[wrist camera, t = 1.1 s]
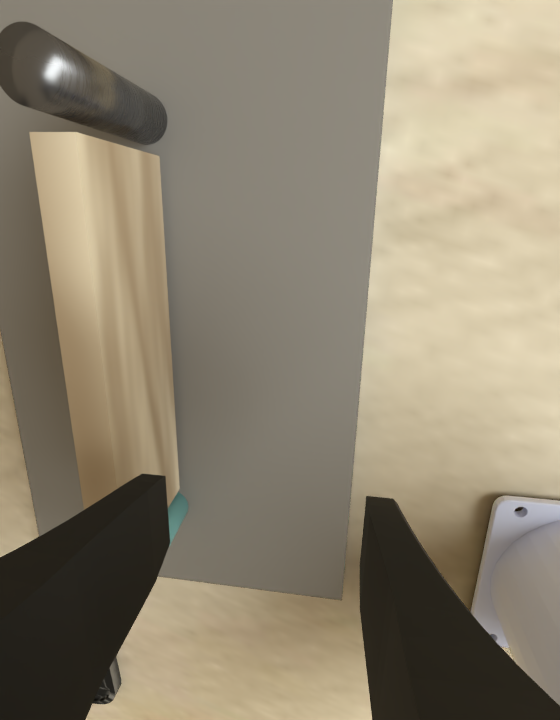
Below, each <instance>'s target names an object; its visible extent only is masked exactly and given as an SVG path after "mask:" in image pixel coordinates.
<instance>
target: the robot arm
mask: <svg viewBox="0 0 560 720" xmlns="http://www.w3.org/2000/svg"><path fill="white" fill-rule="evenodd" d="M518 507H524V508H523V509H522V510H521V511H515V509H516V508H518ZM169 545H170V532H169V518H168V504H167V490H166V476H162V475H152V474H141V475H139V476H137V477H135V478H134V479H132V480H130V481H129V482H127V483H125V484H124V485H122V486H121V487H119V488H118V489H116V490H115V491H113V492H111V493H110V494H108V495H107V496H105V497H104V498H102V499H101V500H99V501H97V502H96V503H94V504H93V505H91V506H89V507H88V508H86V509H85V510H83V511H82V512H80V513H78V514H77V515H75V516H74V517H72V518H70V519H69V520H67V521H65V522H64V523H62V524H60V525H58V526H57V527H55V528H53V529H51V530H50V531H48V532H46V533H45V534H43V535H41V536H39V537H38V538H36V539H34V540H32V541H31V542H29V543H27V544H25V545H23V546H22V547H20V548H18V549H16V550H14V551H12V552H10V553H8V554H6V555H4V556H2V557H0V720H85V719H86V717H87V715H88V712H89V710H90V708H91V705H92V703H93V701H94V698H95V696H96V694H97V692H98V690H99V688H100V686H101V684H102V682H103V680H104V678H105V676H106V674H107V672H108V670H109V668H110V666H111V664H112V663H113V661H114V659H115V657H116V655H117V653H118V651H119V649H120V648H121V646H122V644H123V642H124V640H125V638H126V636H127V635H128V633H129V631H130V629H131V627H132V625H133V623H134V622H135V620H136V618H137V616H138V614H139V612H140V610H141V608H142V607H143V605H144V603H145V601H146V599H147V597H148V595H149V593H150V591H151V589H152V587H153V586H154V584H155V582H156V579H157V577H158V574H159V572H160V569H161V567H162V564H163V561H164V559H165V556H166V553H167V551H168V548H169ZM360 613H361V622H362V631H363V640H364V649H365V658H366V667H367V676H368V684H369V693H370V702H371V711H372V720H560V501H559V500H548V499H538V498H528V497H517V496H501V497H498V498H497V499H496V500H495V501H494V503H493V507H492V511H491V516H490V521H489V526H488V531H487V535H486V540H485V545H484V550H483V555H482V559H481V564H480V569H479V574H478V579H477V583H476V588H475V593H474V598H473V603H472V607H471V612H470V611H469V610H468V609H467V608H466V606H465V605H464V604H463V603H462V601H461V600H460V599H459V597H458V596H457V595H456V593H455V592H454V591H453V590H452V588H451V587H450V586H449V584H448V583H447V582H446V580H445V579H444V577H443V576H442V575H441V573H440V572H439V571H438V569H437V568H436V566H435V565H434V563H433V562H432V560H431V559H430V557H429V556H428V554H427V553H426V551H425V550H424V548H423V547H422V545H421V544H420V542H419V541H418V539H417V537H416V536H415V534H414V532H413V531H412V529H411V528H410V526H409V524H408V522H407V521H406V519H405V517H404V515H403V514H402V512H401V510H400V508H399V506H398V504H397V503H396V502H395V500H394V499H390V498H380V497H370V496H367V497H366V507H365V517H364V527H363V537H362V548H361V558H360ZM489 634H490V635H489ZM501 647H507V648H510V651H511V654H512V656H513V659H514V661H513V660H512V659H511V658H510V656H509V655H508V654H507V653H506V652H505V651H504V650H503V649H502V648H501Z"/></svg>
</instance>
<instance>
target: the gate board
mask: <svg viewBox="0 0 560 720" xmlns="http://www.w3.org/2000/svg"><path fill="white" fill-rule="evenodd" d="M392 4H393V0H0V33H1V31H2V30H3V29H4V28H5V27H7V26H8V25H10V24H12V23H15V22H21V21H22V22H29V23H32V24H35V25H37V26H39V27H40V28H42V29H44V30H45V31H47V32H49V33H50V34H52V35H54V36H55V37H57V38H59V39H60V40H62V41H64V42H65V43H67V44H69V45H70V46H72V47H74V48H75V49H77V50H79V51H80V52H82V53H84V54H85V55H87V56H89V57H90V58H92V59H94V60H95V61H97V62H99V63H100V64H102V65H104V66H105V67H107V68H109V69H110V70H112V71H114V72H115V73H117V74H119V75H120V76H122V77H124V78H126V79H127V80H129V81H131V82H132V83H134V84H136V85H137V86H139V87H141V88H142V89H144V90H146V91H147V92H149V93H151V94H152V95H154V96H155V97H157V98H158V99H159V100H160V101H161V103H162V104H163V106H164V108H165V110H166V114H167V128H166V131H165V133H164V135H163V136H162V138H161V139H160V140H159V141H157V142H156V143H154V144H150V145H143V144H140V143H137V142H133V141H130V140H127V139H124V138H121V137H118V136H115V135H112V134H109V133H106V132H103V131H100V130H96V129H93V128H90V127H87V126H84V125H81V124H78V123H75V122H72V121H69V120H66V119H62V118H59V117H56V116H53V115H50V114H47V113H44V112H41V111H38V110H35V109H32V108H28V107H25V106H23V105H20V104H18V103H16V102H15V101H13V100H12V99H11V98H10V97H9V96H8V95H7V94H6V93H5V92H4V90H3V89H2V87H1V86H0V330H1V335H2V341H3V346H4V351H5V357H6V362H7V367H8V372H9V378H10V383H11V388H12V394H13V399H14V404H15V410H16V415H17V420H18V426H19V431H20V436H21V442H22V447H23V452H24V458H25V463H26V468H27V474H28V479H29V484H30V489H31V495H32V500H33V505H34V511H35V516H36V521H37V527H38V532H39V536H41V535H43V534H45V533H46V532H48V531H50V530H51V529H53V528H55V527H57V526H58V525H60V524H62V523H64V522H65V521H67V520H69V519H70V518H72V517H74V516H75V515H77V514H78V513H80V512H82V511H83V510H84V506H83V499H82V493H81V486H80V479H79V472H78V465H77V458H76V451H75V444H74V437H73V431H72V424H71V417H70V410H69V403H68V396H67V389H66V382H65V375H64V368H63V362H62V355H61V348H60V341H59V334H58V327H57V320H56V313H55V306H54V300H53V293H52V286H51V279H50V272H49V265H48V258H47V251H46V244H45V237H44V231H43V224H42V217H41V210H40V203H39V196H38V189H37V182H36V175H35V168H34V162H33V155H32V148H31V141H30V134H29V132H78V133H81V134H85V135H88V136H92V137H95V138H98V139H102V140H105V141H109V142H112V143H116V144H119V145H123V146H126V147H129V148H133V149H136V150H140V151H143V152H147V153H150V154H154V155H157V156H159V157H160V173H161V190H162V206H163V222H164V239H165V255H166V272H167V288H168V304H169V321H170V337H171V354H172V370H173V386H174V403H175V419H176V436H177V452H178V468H179V485H180V489H179V491H178V492H179V493H180V494H182V495H183V496H184V497H185V498H186V500H187V502H188V512H187V514H186V516H185V518H184V520H183V521H182V523H181V525H180V527H179V529H178V531H177V533H176V535H175V537H174V539H173V541H172V542H171V544H170V546H169V548H168V551H167V553H166V556H165V559H164V561H163V564H162V567H161V569H160V572H159V574H158V576H159V577H167V578H174V579H182V580H190V581H197V582H205V583H213V584H220V585H228V586H236V587H243V588H251V589H259V590H266V591H274V592H282V593H289V594H297V595H305V596H312V597H320V598H328V599H335V600H342V593H343V582H344V570H345V558H346V546H347V534H348V523H349V511H350V499H351V487H352V476H353V464H354V452H355V440H356V428H357V417H358V405H359V393H360V381H361V370H362V358H363V346H364V334H365V322H366V311H367V299H368V287H369V275H370V263H371V252H372V240H373V228H374V216H375V205H376V193H377V181H378V169H379V157H380V146H381V134H382V122H383V110H384V99H385V87H386V75H387V63H388V51H389V40H390V28H391V16H392Z"/></svg>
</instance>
